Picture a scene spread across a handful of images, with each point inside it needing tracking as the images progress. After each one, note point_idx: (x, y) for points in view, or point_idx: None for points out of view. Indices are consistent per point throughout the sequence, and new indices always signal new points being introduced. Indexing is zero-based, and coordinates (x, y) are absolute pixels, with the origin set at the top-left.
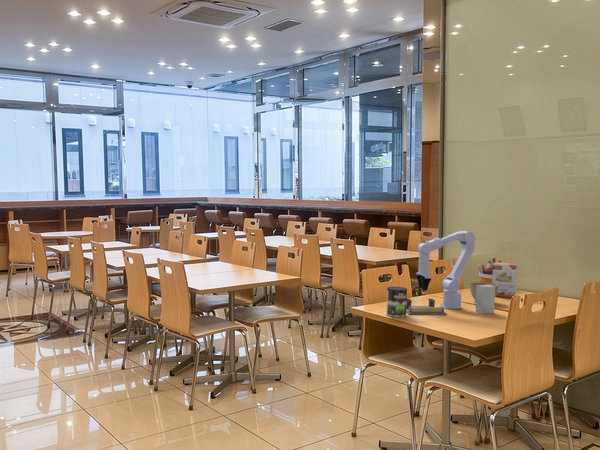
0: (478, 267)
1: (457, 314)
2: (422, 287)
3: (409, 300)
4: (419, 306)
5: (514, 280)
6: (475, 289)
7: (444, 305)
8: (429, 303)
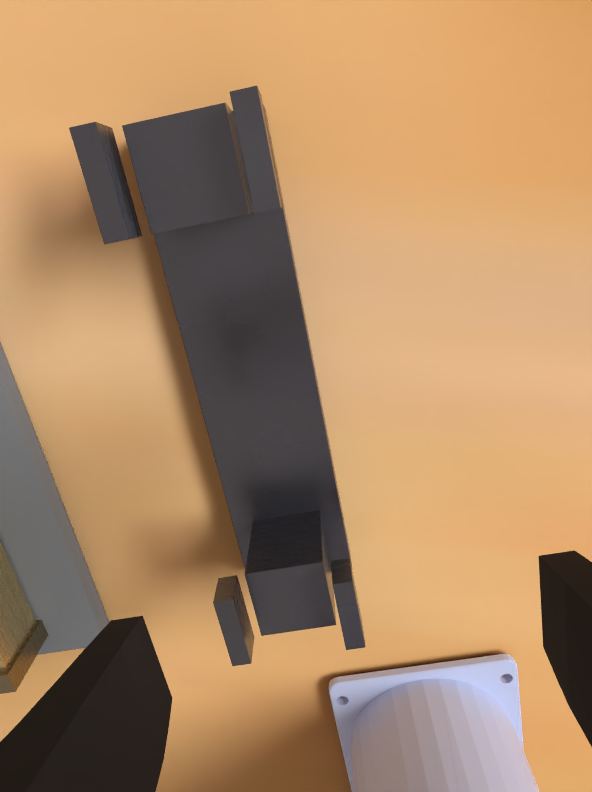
0: None
1: None
2: (552, 649)
3: (89, 187)
4: (282, 377)
5: None
6: None
7: (394, 703)
8: (278, 548)
